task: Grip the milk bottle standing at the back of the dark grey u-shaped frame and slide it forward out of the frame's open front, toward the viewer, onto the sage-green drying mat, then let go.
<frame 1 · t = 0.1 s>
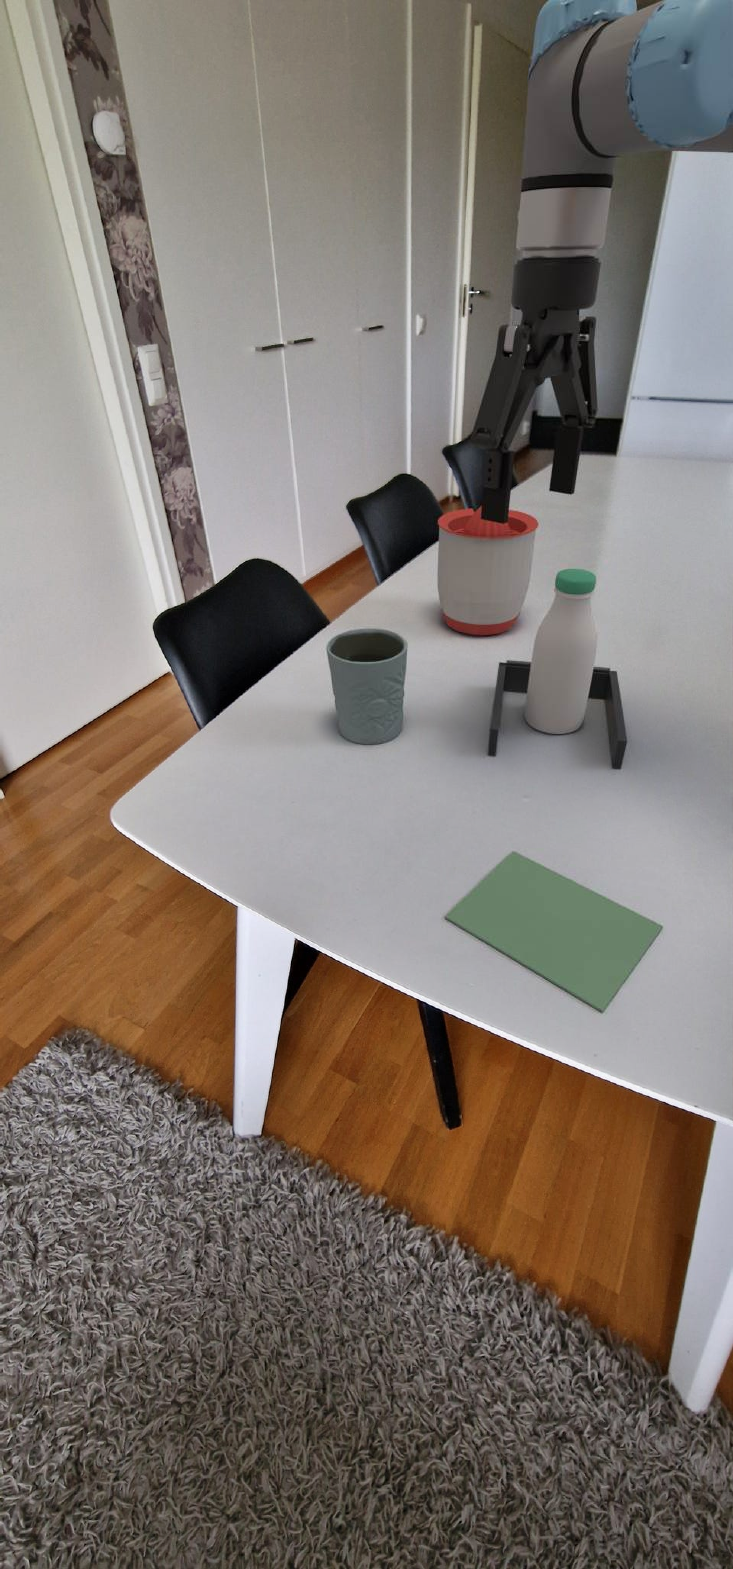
hand: (529, 506, 74), 29 cm above the table, tool pointing down, fingers open, 13 cm apart
citrus juicer: (479, 621, 121), on the table
drying mat: (552, 923, 65), on the table
dark grey u-shaped frame: (553, 724, 93), on the table
grey-green cup: (368, 728, 94), on the table
milk bottle: (552, 721, 94), on the table
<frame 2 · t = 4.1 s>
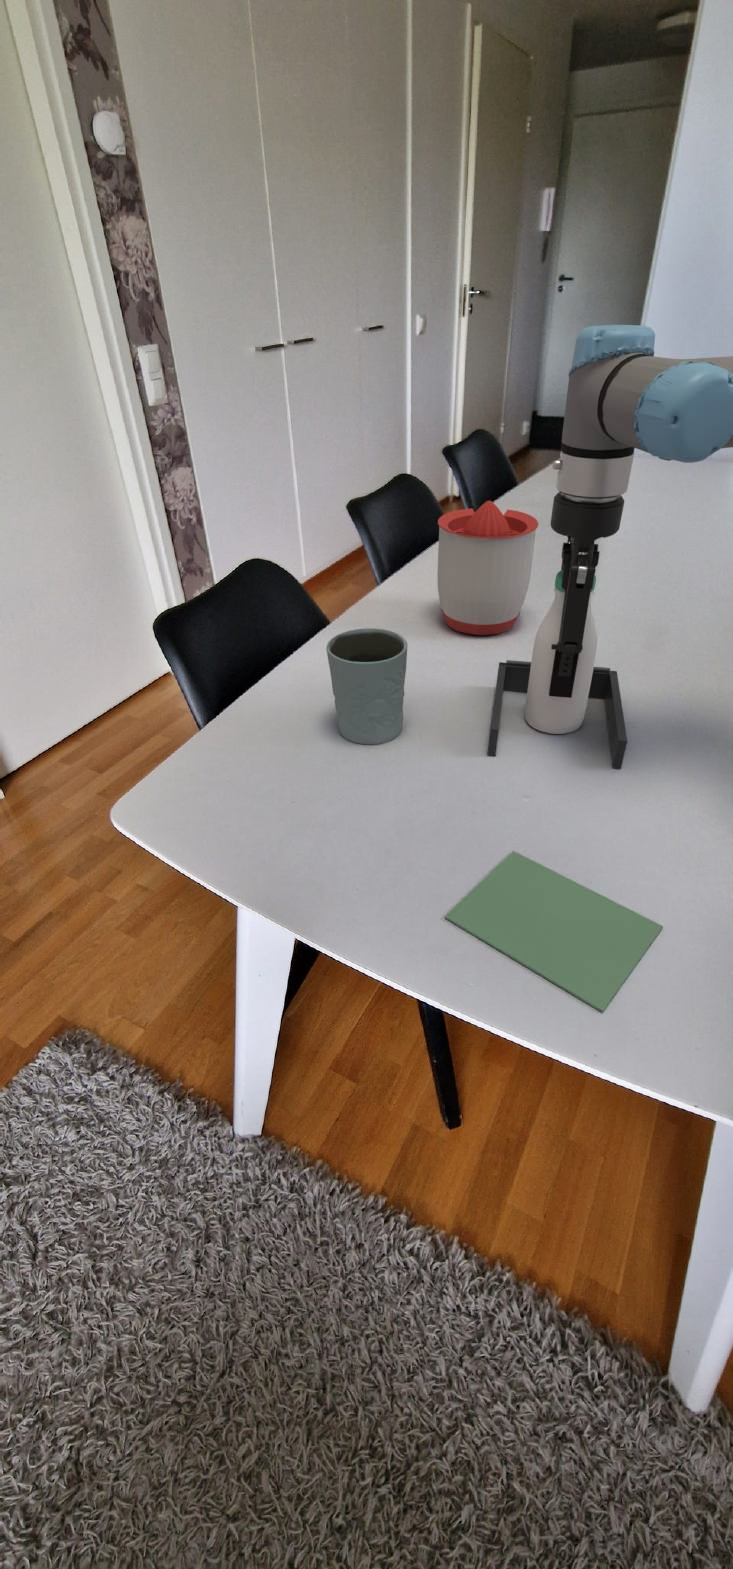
hand: (559, 679, 90), 6 cm above the table, tool pointing down, fingers closed on milk bottle, 8 cm apart
milk bottle: (553, 721, 94), on the table, touching gripper
everything else where it was.
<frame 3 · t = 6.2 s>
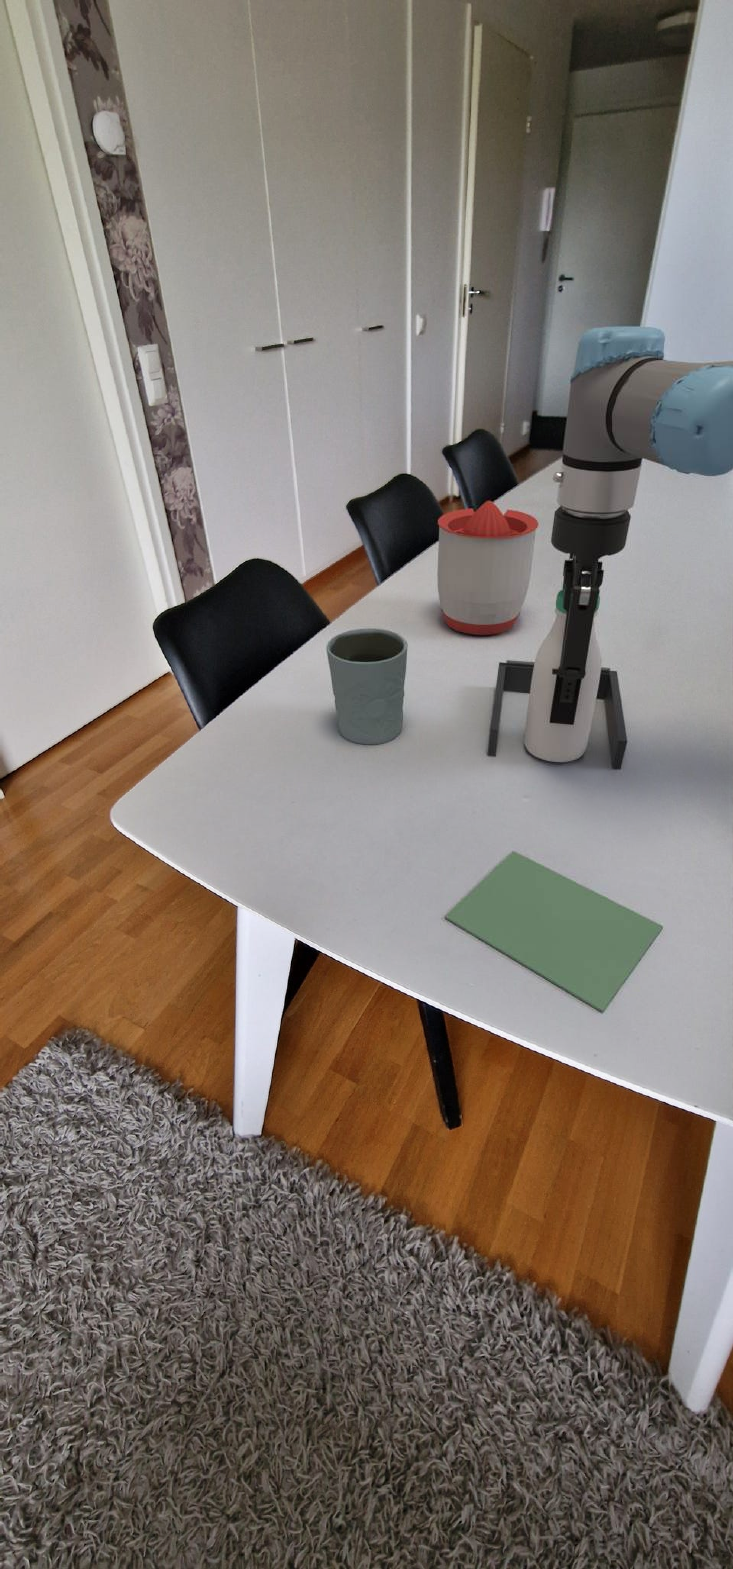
hand: (561, 704, 85), 7 cm above the table, tool pointing down, fingers closed on milk bottle, 8 cm apart
milk bottle: (554, 748, 89), on the table, touching gripper
everything else where it was.
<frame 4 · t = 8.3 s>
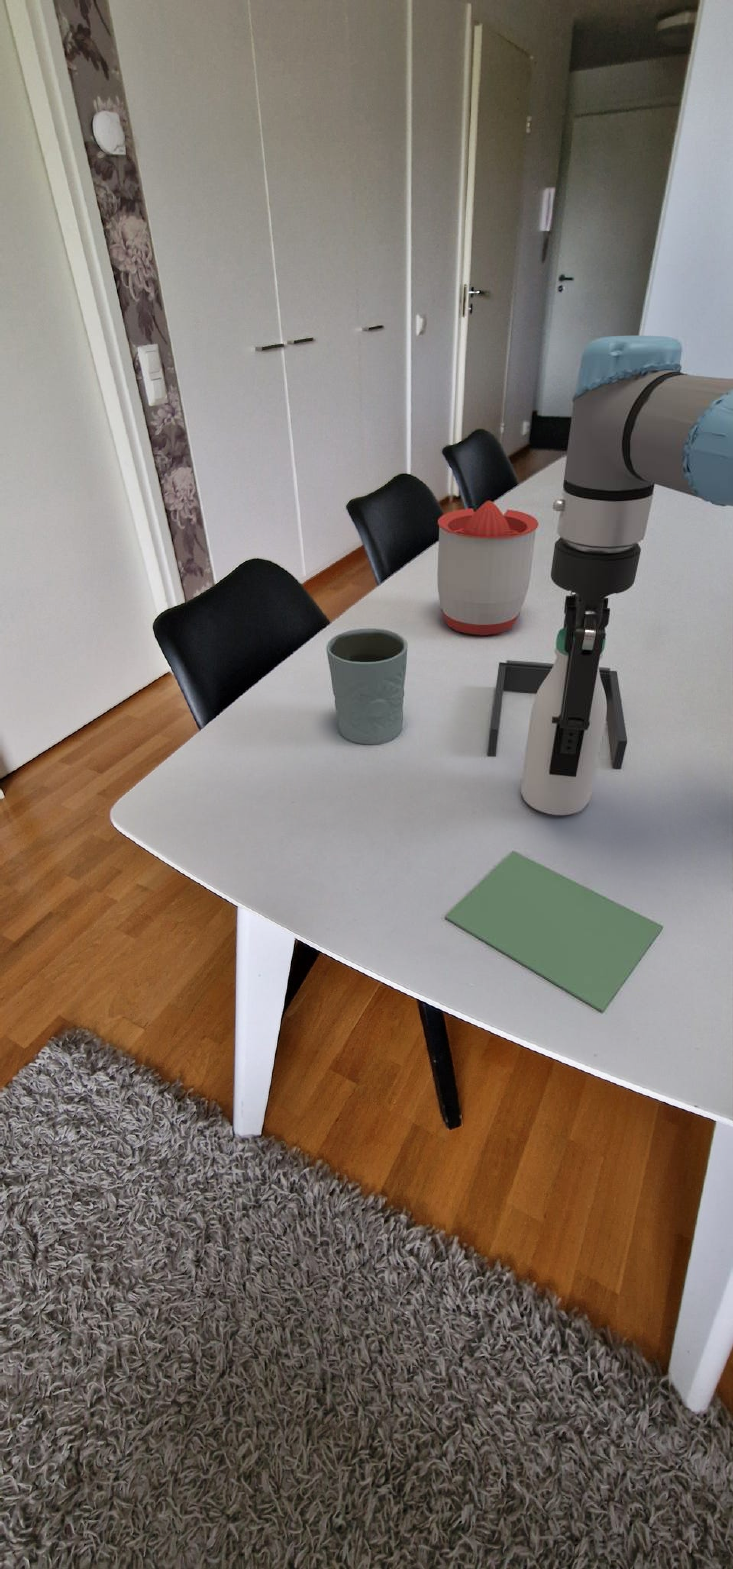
hand: (562, 751, 77), 7 cm above the table, tool pointing down, fingers closed on milk bottle, 8 cm apart
milk bottle: (554, 797, 80), on the table, touching gripper
everything else where it was.
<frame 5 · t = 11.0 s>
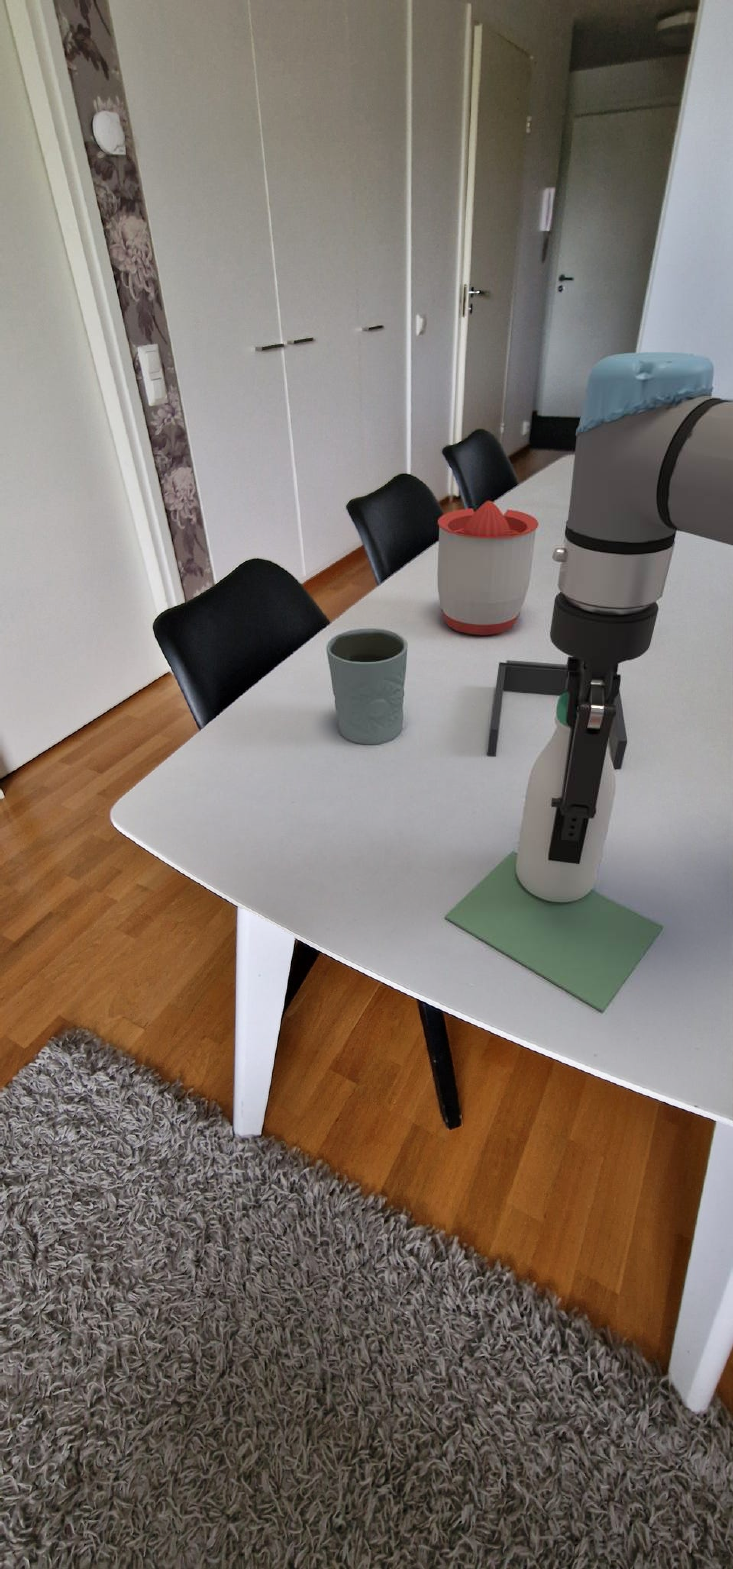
hand: (563, 829, 66), 7 cm above the table, tool pointing down, fingers closed on milk bottle, 8 cm apart
milk bottle: (554, 878, 70), resting on drying mat, touching gripper
everything else where it was.
when the fingers open (6 cm above the table, at t = 12.7 s): milk bottle stays where it is, resting on drying mat.
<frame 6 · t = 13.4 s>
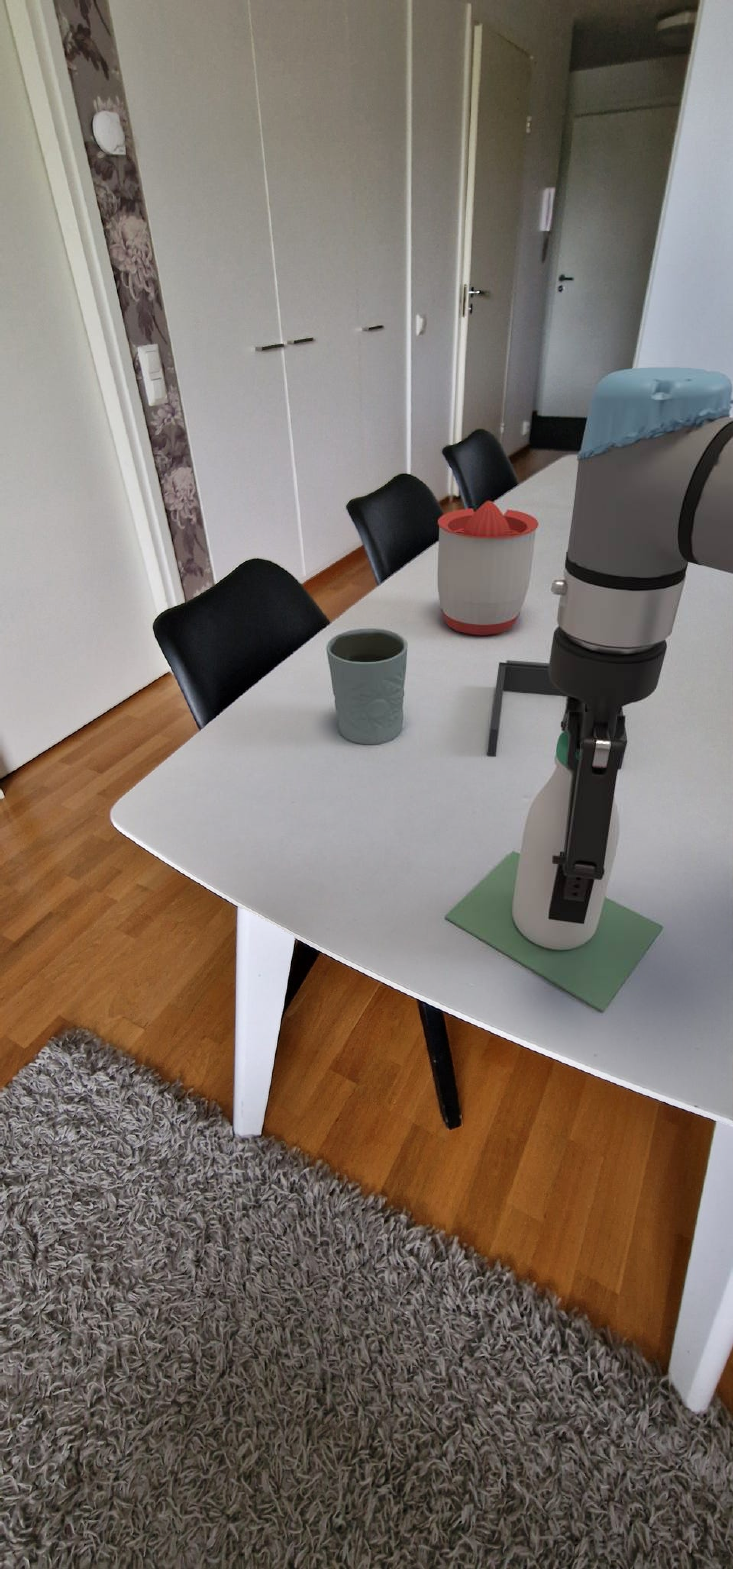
hand: (564, 860, 61), 8 cm above the table, tool pointing down, fingers open, 13 cm apart
milk bottle: (552, 921, 65), resting on drying mat
everything else where it was.
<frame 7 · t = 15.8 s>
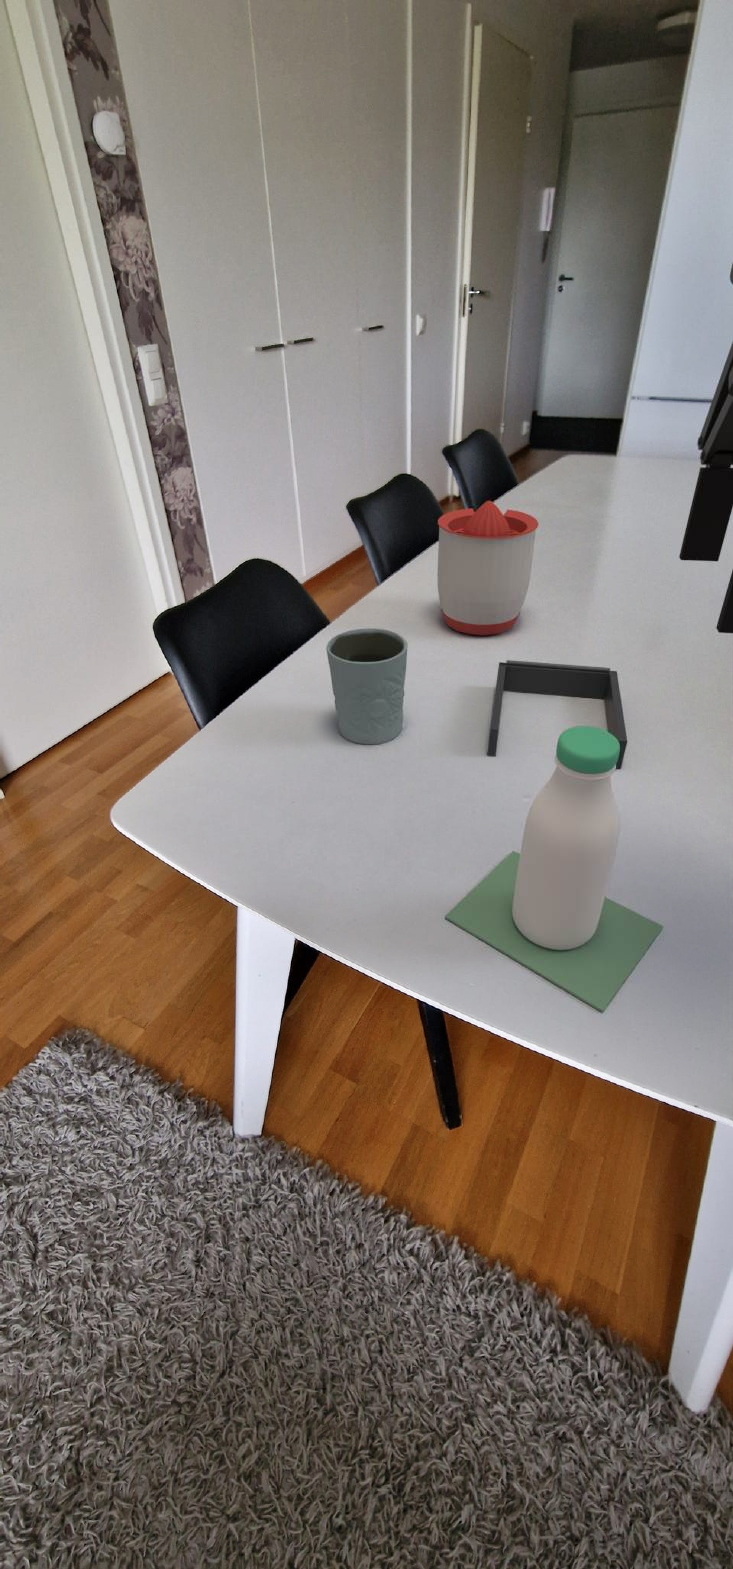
hand: (717, 592, 49), 31 cm above the table, tool pointing down, fingers open, 13 cm apart
nothing on the table moved.
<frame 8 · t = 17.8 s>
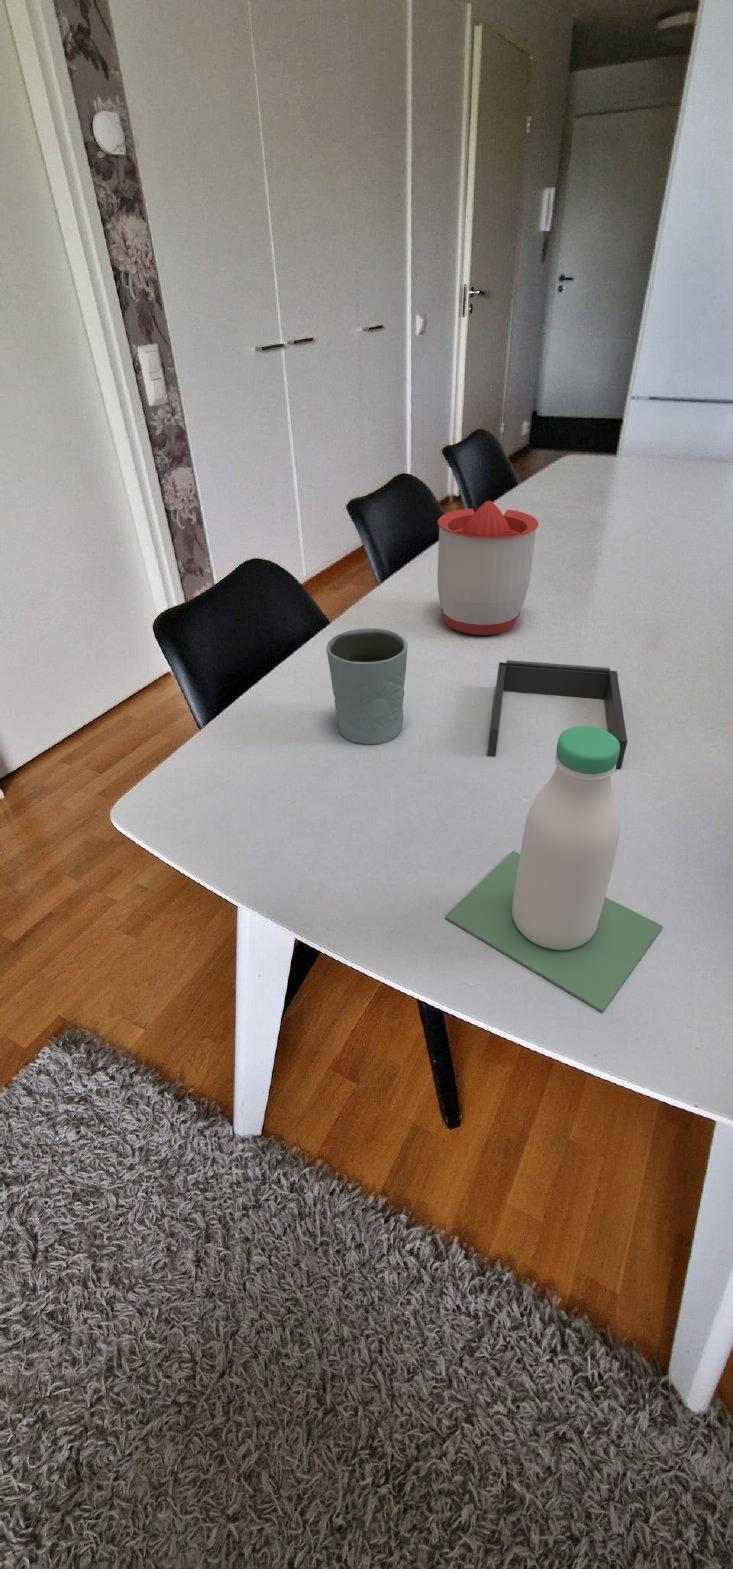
nothing on the table moved.
at the end: milk bottle inside the target area on the drying mat (0.1 cm from its centre), point 0.1 cm above the drying mat's base; milk bottle tilted 0°; the gripper is holding nothing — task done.
